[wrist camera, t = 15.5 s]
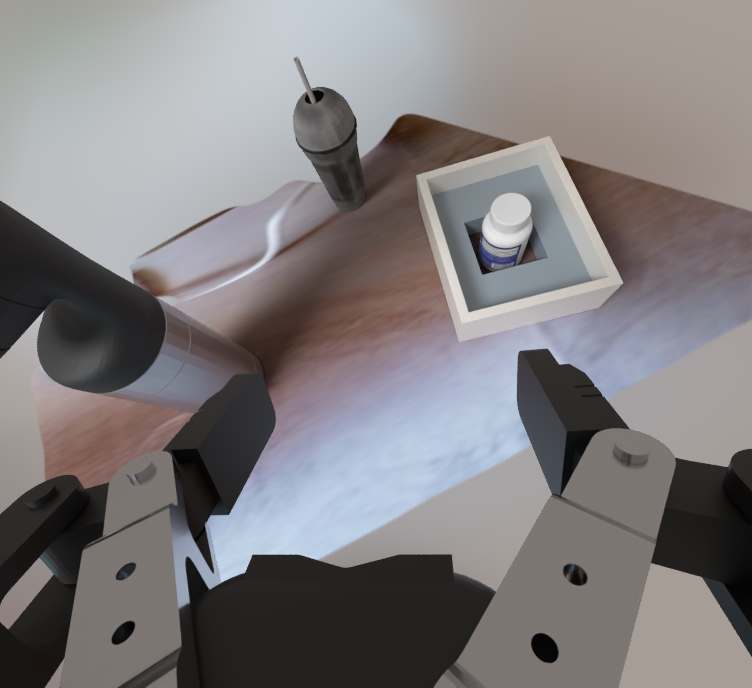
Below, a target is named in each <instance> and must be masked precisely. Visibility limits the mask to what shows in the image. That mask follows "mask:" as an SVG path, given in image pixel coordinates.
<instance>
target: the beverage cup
mask: <svg viewBox="0 0 752 688" xmlns="http://www.w3.org/2000/svg"><path fill="white" fill-rule="evenodd" d="M294 62H295V64H296V66H297V69H298V71H299V74H300V76H301V78H302V81H303V83H304V85H305V88H306V90H307V92H305V93H304V94H303V95H302V96H301V98H300V99H299V100H298V102H297V104H296V107H295V110H294V115H293V123H294V132H295V135H296V141H297V143H298V145H299V147H300V148H301V149H302V150H303V152H304V153H305V155H306V156H307V157H308V158H309V159H310V160H311V162H312V164H313V166H314V167H315V169H316V171H317V173H318V175H319V176H320V178H321V180H322V182H323V184H324V185H325V187H326V189H327V191H328V193H329V194H330V196H331V198H332V200H333V201H334V202H335V204H336V206H337V207H338V208H339V209H340V210H343V211H353V210H356V209H358V208H359V207H360V206H361V205H362V204H363V202H364V200H365V192H364V182H363V176H362V170H361V164H360V159H359V153H358V147H357V131H356V127H357V123H356V118H355V116H354V114H353V112H352V110H351V108H350V106H349V105H348V103H347V101H346V100H345V99H344V97H342V96H341V95H340V94H339V93H337V92H336V91H334V90H332V89H329V88H325V87H316V88H312V89H311V88H310V85H309V83H308V80H307V78H306V75H305V73H304V70H303V68H302V65H301V63H300V60H299V58H298V57H295V58H294Z"/></svg>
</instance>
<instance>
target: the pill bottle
mask: <svg viewBox="0 0 752 688" xmlns="http://www.w3.org/2000/svg"><path fill="white" fill-rule="evenodd" d="M530 214H531V204H530V202H529V200H528V199H527V198H526V197H524V196H523V195H521V194H517V193H506V194H503V195H501V196H499V197H498V198H496V199H495V200H494V202H493V203H492V206H491V209H490V212H489V213H488V214H487V215H486V216H485V218H484V220H483V224H482V230H481V238H480V246H479V259H480V262H481V263H482V265H483V266H484V267H485V268H487V269H488V270H490V271H493V272H495V271H499V270H503V269H507V268H511V267H514V266H518V264H519V263H520V262H521V260H522V258H523V255H524V252H525V249H526V246H527V243H528V240H529V237H530V235H531V231H532V226H533V223H532V219H531V216H530Z"/></svg>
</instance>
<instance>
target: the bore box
mask: <svg viewBox="0 0 752 688" xmlns="http://www.w3.org/2000/svg"><path fill="white" fill-rule="evenodd" d="M416 179H417V189H418V200H419V209H420V212H421V215H422V219H423V222H424V225H425V229H426V232H427V235H428V239H429V242H430V245H431V249H432V252H433V256H434V259H435V262H436V266H437V269H438V272H439V276H440V279H441V282H442V286H443V289H444V292H445V296H446V299H447V302H448V306H449V309H450V312H451V316H452V319H453V322H454V326H455V329H456V332H457V336H458V339H459V342H462V341H466V340H470V339H474V338H478V337H482V336H486V335H491V334H495V333H499V332H503V331H507V330H511V329H515V328H519V327H523V326H527V325H531V324H535V323H539V322H543V321H547V320H552V319H556V318H560V317H564V316H568V315H572V314H576V313H580V312H584V311H588V310H592V309H596V308H599V307H600V306H601V305H602V304H603V303H604V302H605V301H606V300H607V299H608V298H609V297H610V296H611V295H612V294H613V293H614V292H615V291H616V290H617V289H618V288H619V287H620V286H621V285H622V284H623V281H622V279H621V277H620V275H619V273H618V271H617V269H616V267H615V265H614V263H613V261H612V259H611V257H610V255H609V253H608V251H607V249H606V247H605V245H604V243H603V241H602V239H601V237H600V235H599V233H598V231H597V229H596V227H595V225H594V223H593V221H592V219H591V217H590V215H589V213H588V211H587V209H586V207H585V205H584V203H583V201H582V199H581V197H580V195H579V193H578V191H577V189H576V187H575V185H574V183H573V181H572V179H571V177H570V175H569V173H568V171H567V169H566V167H565V165H564V163H563V161H562V159H561V157H560V155H559V153H558V152H557V149H556V147H555V145H554V143H553V141H552V140H551V137H550V136H547V137H544V138H541V139H538V140H534V141H530V142H527V143H524V144H520V145H517V146H514V147H510V148H507V149H503V150H500V151H497V152H493V153H490V154H487V155H483V156H480V157H476V158H473V159H470V160H466V161H463V162H460V163H456V164H453V165H449V166H446V167H443V168H439V169H436V170H433V171H429V172H426V173H423V174H419V175H416ZM506 193H517V194H521V195H523V196H524V197H526V198H527V199H528V200H529V202H530V204H531V214H530V216H531V219H532V223H533V226H532V231H531V235H530V237H529V242H530V244H531V247H532V249H533V251H534V254H535V256H536V259H537V261H533V262H530V263H526V264H522V265H518V266H514V267H511V268H507V269H503V270H499V271H495V272H492V273H488V274H484V275H482V273H481V270H480V267H479V265H478V262H477V259H476V256H475V253H474V250H473V247H472V244H471V242H470V239H469V236H468V235H472V234H475V233H479V232H481V230H482V224H483V220H484V218H485V216H486V215H487V214H488V213H489V212H490V209H491V206H492V203H493V202H494V200H495V199H496V198H498V197H499V196H501V195H503V194H506Z"/></svg>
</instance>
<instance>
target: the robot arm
mask: <svg viewBox="0 0 752 688" xmlns="http://www.w3.org/2000/svg"><path fill="white" fill-rule="evenodd" d="M44 310H45V311H44ZM43 311H44V314H43V318H42V322H41V324H40V328H39V333H38V339H37V340H38V341H37V351H38V357H39V360H40V363H41V365H42V368H43V369H44V371H45V372H46V373H47V374H48V376H49V377H50V378H51V379H53V380H54V381H56V382H57V383H59V384H61V385H63V386H65V387H69V388H72V389H76V390H81V391H86V392H91V393H96V394H101V395H105V396H110V397H115V398H120V399H126V400H131V401H136V402H140V403H145V404H150V405H155V406H160V407H165V408H170V409H174V410H179V411H184V412H189V413H194V415H193V416H192V417H191V418H190V422H187V423H186V424H185V425H184V426H183V428H182V429H181V430H180V431H179V432H178V433H177V434H176V436H175V437H174V438H173V439H172V440H171V441H170V442H169V444H168V445H167V446H166V447H165V448H164V449H163V450H162V451H155V452H150V453H147V454H144V455H142V456H139V457H137V458H135V459H134V460H132V461H130V462H129V463H127V464H126V465H124V466H123V467H122V468H121V469H119V470H118V471H117V472H116V473H115V475H114V476H113V477H112V479H111V480H110V482H109V483H105V484H102V485H98V486H94V487H91V488H87V489H84V487H83V486H82V484H81V483H80V481H79V480H78V478H77V477H76V476H74V475H63V476H59V477H55V478H52V479H50V480H47V481H45V482H43V483H41V484H39V485H37V486H35V487H34V488H32V489H30V490H29V491H27V492H26V493H25V494H23V495H22V496H20V497H19V498H18V499H17V500H16V501H15V502H14V503H12V504H11V505H10V506H9V507H8V508H7V509H6V510H5V511H3V512H2V513H1V514H0V604H1V602H2V600H3V598H4V596H5V595H6V594H7V593H8V591H9V590H10V589H11V588H12V587H13V586H14V585H15V583H16V582H17V581H18V580H19V579H20V578H21V577H22V576H23V575H24V573H25V572H26V571H27V570H28V569H29V568H30V567H31V566H32V565H33V563H34V562H35V561H36V560H37V559H38V558H39V557H40V559H41V560H42V561H43V562H44V563H45V564H46V566H47V567H48V568H49V569H50V570H51V571H52V572H53V574H54V575H53V576H52V577H51V579H50V580H49V581H48V582H47V584H46V585H45V586H44V587H43V588H42V590H41V591H40V592H39V593H38V594H37V596H36V597H35V598H34V599H33V601H32V602H31V603H30V604H29V605H28V607H27V608H26V609H25V610H24V611H23V613H22V614H21V615H20V617H19V618H18V619H17V620H16V621H15V622H14V624H13V625H12V626H11V627H10V628H9V630H8V629H7V628H6V627H5V626H4V625H2V624H1V623H0V688H45V686H46V685H47V683H48V682H49V680H50V679H51V677H52V676H53V674H54V673H55V671H56V670H57V668H58V667H59V665H60V664H61V662H62V661H63V659H64V664H63V670H62V676H61V682H60V687H59V688H618V687H619V683H620V679H621V675H622V671H623V667H624V663H625V660H626V656H627V652H628V648H629V644H630V641H631V637H632V633H633V629H634V625H635V622H636V618H637V614H638V610H639V606H640V602H641V598H642V595H643V591H644V587H645V583H646V579H647V576H648V572H649V568H650V564H651V563H653V564H657V565H660V566H664V567H668V568H671V569H675V570H678V571H682V572H686V573H689V574H693V575H697V576H701V577H702V578H703V579H704V581H705V582H706V584H707V586H708V587H709V589H710V590H711V592H712V594H713V595H714V597H715V598H716V600H717V602H718V603H719V605H720V607H721V608H722V610H723V611H724V613H725V615H726V616H727V618H728V620H729V621H730V622H731V624H732V626H733V628H734V629H735V630H736V632H737V634H738V635H739V637H740V639H741V640H742V642H743V644H744V645H745V647H746V648H747V650H748V652H749V653H750V655H751V656H752V449H747V450H742V451H739V452H737V453H736V454H734V456H733V457H732V458H731V461H730V464H729V467H723V466H717V465H711V464H705V463H699V462H693V461H687V460H683V459H678V458H675V457H674V455H673V453H672V452H671V451H670V450H669V448H667V447H666V446H665V445H664V444H663V443H661V442H660V441H659V440H657V439H655V438H653V437H651V436H649V435H647V434H644V433H641V432H638V431H634V430H630V429H629V428H628V426H627V425H626V424H625V422H624V421H623V420H622V419H621V417H620V416H619V415H618V414H617V412H616V411H615V410H614V409H613V408H612V406H611V405H610V404H609V402H608V401H607V400H606V399H605V397H602V394H601V392H600V391H599V390H598V389H597V387H594V384H593V382H592V381H591V380H590V379H589V377H588V376H587V375H586V374H585V373H584V372H582V371H580V370H579V369H577V368H575V367H574V366H572V365H570V364H563V365H559V364H558V362H557V361H556V360H555V358H554V357H553V355H552V354H551V352H550V351H549V350H548V349H537V350H525V351H520V352H519V354H518V371H517V404H518V410H519V414H520V417H521V420H522V422H523V425H524V427H525V429H526V432H527V434H528V437H529V439H530V442H531V444H532V446H533V449H534V451H535V454H536V456H537V459H538V461H539V463H540V466H541V468H542V471H543V473H544V475H545V478H546V481H547V483H548V485H549V488H550V490H551V493H552V496H551V497H550V498H549V499H548V501H547V503H546V504H545V506H544V508H543V510H542V511H541V513H540V515H539V517H538V519H537V520H536V522H535V524H534V526H533V527H532V529H531V531H530V533H529V535H528V536H527V538H526V540H525V542H524V544H523V545H522V547H521V549H520V551H519V552H518V554H517V556H516V558H515V560H514V561H513V563H512V565H511V567H510V568H509V570H508V572H507V574H506V576H505V577H504V579H503V581H502V583H501V585H500V586H499V588H498V590H497V592H496V591H494V590H493V589H491V588H490V587H488V586H486V585H484V584H482V583H480V582H479V581H476V580H474V579H472V578H469V577H467V576H464V575H460V574H457V573H454V572H453V564H452V555H396V556H393V557H389V558H385V559H381V560H377V561H373V562H369V563H366V564H361V565H357V566H354V567H349V568H342V567H338V566H335V565H331V564H328V563H325V562H322V561H318V560H315V559H311V558H308V557H305V556H301V555H252V558H251V560H250V563H249V565H248V567H247V570H246V572H245V573H243V574H240V575H238V576H235V577H232V578H230V579H228V580H226V581H224V582H222V583H221V579H220V575H219V570H218V565H217V561H216V556H215V551H214V546H213V542H212V537H211V532H210V529H209V527H208V525H207V523H206V522H207V521H208V519H209V517H210V515H229V514H230V512H231V510H232V508H233V506H234V504H235V502H236V500H237V499H238V497H239V495H240V493H241V491H242V489H243V487H244V485H245V483H246V482H247V480H248V478H249V476H250V474H251V472H252V470H253V468H254V466H255V464H256V463H257V461H258V459H259V457H260V455H261V453H262V451H263V449H264V447H265V445H266V444H267V442H268V440H269V438H270V436H271V434H272V432H273V430H274V427H275V421H276V416H275V411H274V407H273V404H272V401H271V398H270V395H269V392H268V389H267V386H266V383H265V380H264V373H263V368H262V365H261V363H260V361H259V360H258V358H257V357H256V356H255V355H254V354H252V353H251V352H250V351H248V350H246V349H245V348H243V347H241V346H239V345H238V344H236V343H235V342H233V341H231V340H229V339H228V338H226V337H224V336H222V335H221V334H219V333H217V332H216V331H214V330H212V329H210V328H209V327H207V326H205V325H203V324H202V323H200V322H198V321H197V320H195V319H193V318H191V317H190V316H188V315H186V314H185V313H183V312H181V311H179V310H178V309H176V308H174V307H172V306H170V305H169V304H167V303H165V302H163V301H162V300H160V299H158V298H157V297H155V296H153V295H152V294H150V293H149V292H147V291H145V290H143V289H142V288H140V287H138V286H136V285H134V284H132V283H131V282H129V281H127V280H125V279H123V278H122V277H120V276H118V275H117V274H115V273H113V272H111V271H110V270H108V269H106V268H104V267H103V266H101V265H99V264H98V263H96V262H94V261H93V260H91V259H89V258H88V257H86V256H84V255H83V254H81V253H80V252H78V251H77V250H75V249H73V248H72V247H70V246H69V245H67V244H66V243H64V242H63V241H61V240H60V239H58V238H56V237H55V236H53V235H52V234H50V233H49V232H47V231H46V230H44V229H43V228H41V227H40V226H38V225H37V224H35V223H34V222H32V221H31V220H29V219H28V218H26V217H25V216H23V215H21V214H20V213H19V212H17V211H16V210H14V209H13V208H11V207H10V206H8V205H6V204H5V203H3V202H2V201H0V358H1V357H2V356H3V355H4V354H5V353H6V352H7V351H8V350H9V349H10V348H11V346H12V345H13V344H14V343H15V342H16V341H17V340H18V339H19V338H20V337H21V335H22V334H23V333H24V332H25V331H26V330H27V329H28V328H29V327H30V325H31V324H32V323H33V322H34V321H35V320H36V319H37V318H38V317H39V315H40V314H41V313H42V312H43Z"/></svg>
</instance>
